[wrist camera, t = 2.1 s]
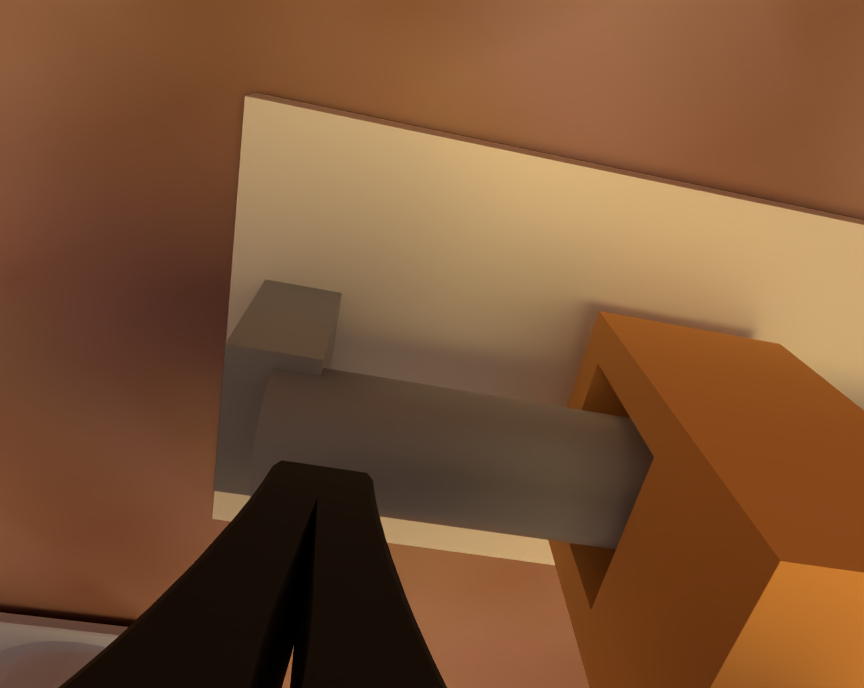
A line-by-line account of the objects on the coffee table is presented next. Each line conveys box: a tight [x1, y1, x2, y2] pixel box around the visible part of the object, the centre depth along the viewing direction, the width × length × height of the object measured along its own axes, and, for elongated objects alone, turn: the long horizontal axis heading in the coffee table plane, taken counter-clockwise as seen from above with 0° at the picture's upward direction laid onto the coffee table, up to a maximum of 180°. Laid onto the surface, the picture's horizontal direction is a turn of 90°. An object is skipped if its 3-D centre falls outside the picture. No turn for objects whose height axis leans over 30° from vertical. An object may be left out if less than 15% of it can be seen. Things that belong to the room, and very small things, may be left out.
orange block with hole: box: [548, 311, 864, 688], centre depth 11 cm, size 4×5×7 cm
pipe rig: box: [212, 93, 864, 565], centre depth 14 cm, size 27×10×6 cm, turn 79°
